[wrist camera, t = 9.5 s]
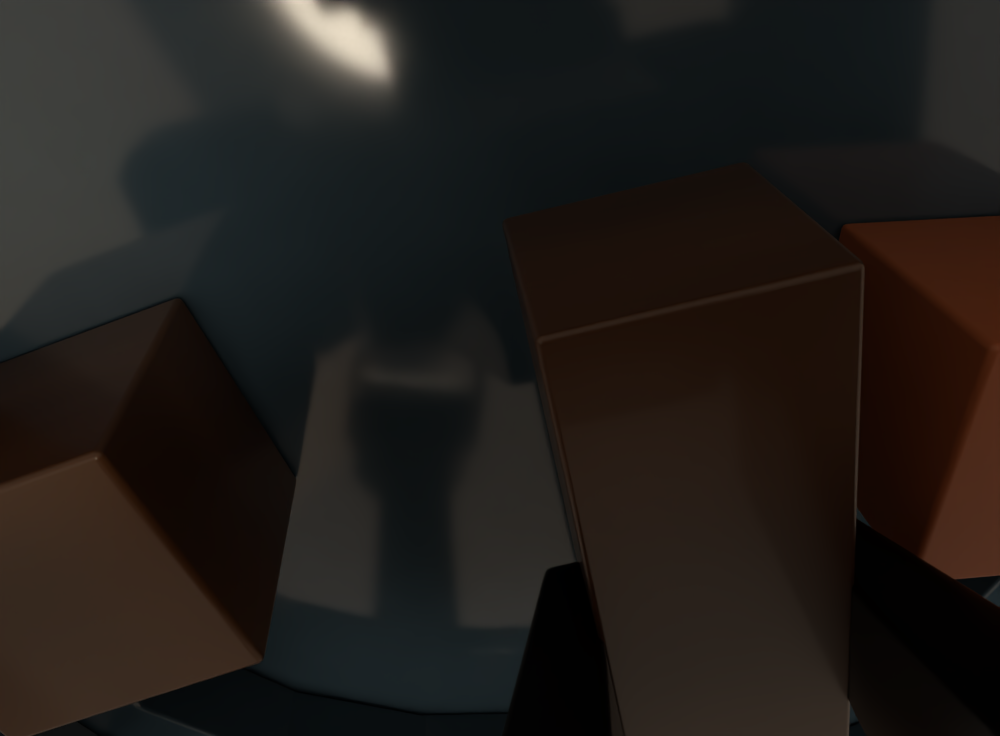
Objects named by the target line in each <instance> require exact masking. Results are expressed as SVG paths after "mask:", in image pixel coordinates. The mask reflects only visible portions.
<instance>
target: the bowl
mask: <svg viewBox="0 0 1000 736" xmlns="http://www.w3.org/2000/svg"><path fill="white" fill-rule="evenodd" d="M741 162H744V163H748V164H749V165H750V166H751V167H752V168H754V169H755V170H756V171H757V172H758V173H759V174H761V175H762V176H763V177H764V178H765V179H766V180H768V181H769V182H770V183H771V184H772V185H773V186H775V187H776V188H777V189H778V190H779V191H781V192H782V193H783V194H784V195H785V196H786V197H788V198H789V199H790V200H791V201H792V202H793V203H795V204H796V205H797V206H798V207H799V208H800V209H802V210H803V211H804V212H805V213H806V214H807V215H809V216H810V217H811V218H812V219H813V220H815V221H816V222H817V223H818V224H819V225H820V226H822V227H823V228H824V229H825V230H826V231H827V232H829V233H830V234H831V235H832V236H833V237H834V238H836V239H837V240H838V241H839V238H840V233H841V228H842V227H843V225H845V224H853V223H872V222H891V221H910V220H929V219H948V218H966V217H985V216H1000V0H0V363H3V362H5V361H8V360H11V359H13V358H16V357H19V356H22V355H24V354H27V353H30V352H32V351H35V350H38V349H40V348H43V347H46V346H49V345H51V344H54V343H57V342H59V341H62V340H65V339H68V338H70V337H73V336H76V335H78V334H81V333H84V332H87V331H89V330H92V329H95V328H97V327H100V326H103V325H106V324H108V323H111V322H114V321H116V320H119V319H122V318H124V317H127V316H130V315H133V314H135V313H138V312H141V311H143V310H146V309H149V308H152V307H154V306H157V305H160V304H162V303H165V302H168V301H171V300H173V299H181V300H182V301H183V302H184V304H185V305H186V307H187V308H188V310H189V312H190V313H191V315H192V316H193V318H194V319H195V321H196V323H197V324H198V326H199V327H200V329H201V330H202V332H203V334H204V335H205V337H206V338H207V340H208V341H209V343H210V345H211V346H212V348H213V349H214V351H215V352H216V354H217V356H218V357H219V359H220V360H221V362H222V363H223V365H224V367H225V368H226V370H227V371H228V373H229V374H230V376H231V378H232V379H233V381H234V382H235V384H236V385H237V387H238V389H239V390H240V392H241V393H242V395H243V396H244V398H245V400H246V401H247V403H248V404H249V406H250V407H251V409H252V411H253V412H254V414H255V415H256V417H257V418H258V420H259V422H260V423H261V425H262V426H263V428H264V429H265V431H266V433H267V434H268V436H269V437H270V439H271V440H272V442H273V444H274V445H275V447H276V448H277V450H278V451H279V453H280V454H281V456H282V458H283V459H284V461H285V462H286V464H287V465H288V467H289V469H290V470H291V472H292V473H293V475H294V476H295V478H296V487H295V492H294V498H293V503H292V509H291V514H290V520H289V525H288V531H287V536H286V542H285V547H284V553H283V558H282V564H281V569H280V575H279V580H278V586H277V591H276V597H275V602H274V608H273V613H272V619H271V624H270V630H269V635H268V641H267V646H266V652H265V657H264V659H263V661H261V662H260V663H258V664H255V665H252V666H249V667H246V668H242V669H239V670H236V671H233V672H230V673H227V674H224V675H221V676H217V677H214V678H211V679H208V680H205V681H202V682H199V683H195V684H192V685H189V686H186V687H183V688H180V689H177V690H174V691H170V692H167V693H164V694H161V695H158V696H155V697H152V698H148V699H145V700H142V701H139V702H136V703H133V704H130V705H127V706H123V707H120V708H117V709H114V710H111V711H108V712H105V713H101V714H98V715H95V716H92V717H89V718H86V719H83V720H80V721H76V722H73V723H70V724H67V725H64V726H61V727H58V728H54V729H51V730H48V731H45V732H42V733H39V734H36V735H33V736H502V732H503V729H504V725H505V721H506V717H507V713H508V710H509V706H510V702H511V698H512V695H513V691H514V687H515V683H516V679H517V676H518V672H519V668H520V664H521V660H522V657H523V653H524V649H525V645H526V641H527V638H528V634H529V630H530V626H531V622H532V619H533V615H534V611H535V607H536V603H537V600H538V596H539V592H540V588H541V585H542V581H543V577H544V574H545V572H546V570H547V569H548V568H551V567H555V566H559V565H563V564H568V563H572V562H577V558H576V553H575V549H574V544H573V540H572V536H571V531H570V527H569V522H568V518H567V513H566V509H565V504H564V500H563V495H562V491H561V486H560V482H559V477H558V473H557V468H556V464H555V459H554V455H553V451H552V446H551V442H550V437H549V433H548V428H547V424H546V419H545V415H544V410H543V406H542V401H541V397H540V392H539V388H538V383H537V379H536V375H535V370H534V366H533V361H532V357H531V352H530V348H529V343H528V339H527V334H526V330H525V325H524V321H523V316H522V312H521V307H520V303H519V299H518V294H517V290H516V285H515V281H514V276H513V272H512V267H511V263H510V258H509V254H508V249H507V245H506V240H505V236H504V231H503V227H502V224H503V221H504V220H505V219H507V218H510V217H514V216H519V215H523V214H527V213H531V212H535V211H540V210H544V209H548V208H552V207H556V206H561V205H565V204H569V203H573V202H577V201H582V200H586V199H590V198H594V197H598V196H603V195H607V194H611V193H615V192H619V191H624V190H628V189H632V188H636V187H640V186H645V185H649V184H653V183H657V182H661V181H666V180H670V179H674V178H678V177H683V176H687V175H691V174H695V173H699V172H704V171H708V170H712V169H716V168H720V167H725V166H729V165H733V164H737V163H741ZM856 519H858V520H860V521H861V522H863V523H865V524H866V525H868V526H869V527H870V525H869V524H868V523H867V521H866V520H865V518H864V517H863V515H862V514H861V513H860V511H859V510H858V508H857V514H856ZM955 580H957V581H958V582H960V583H961V584H963V585H965V586H966V587H968V588H970V589H971V590H973V591H974V592H976V593H978V594H979V595H981V596H982V597H984V598H986V599H987V600H989V601H991V602H992V603H994V604H995V605H997V606H999V607H1000V575H999V576H988V577H976V578H965V579H955ZM0 736H5V735H3V734H2V733H1V732H0ZM849 736H866V734H865V732H864V730H863V728H862V727H861V725H860V723H859V721H858V719H857V717H856V715H855V713H854V711H853V709H852V707H851V704H850V717H849Z"/></svg>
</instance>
